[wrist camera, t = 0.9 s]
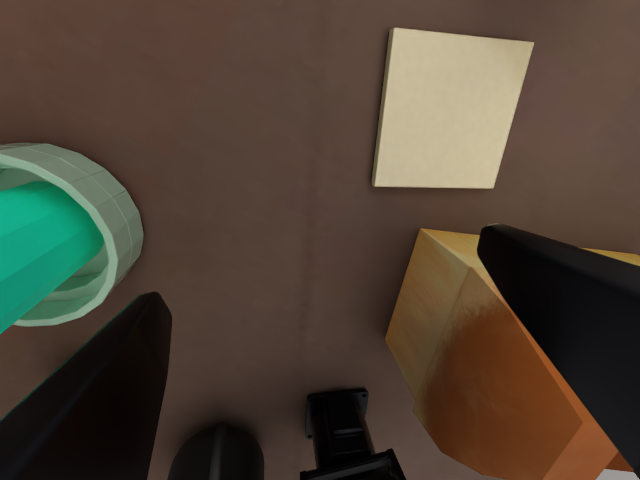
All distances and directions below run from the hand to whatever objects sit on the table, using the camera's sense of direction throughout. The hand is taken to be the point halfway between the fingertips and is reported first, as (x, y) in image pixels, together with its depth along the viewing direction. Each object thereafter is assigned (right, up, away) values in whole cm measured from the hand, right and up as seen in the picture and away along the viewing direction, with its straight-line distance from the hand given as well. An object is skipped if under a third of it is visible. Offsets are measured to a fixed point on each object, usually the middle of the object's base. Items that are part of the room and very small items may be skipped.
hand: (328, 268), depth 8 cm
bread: (+19, -5, +22) cm, 29 cm away
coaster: (+9, +10, +14) cm, 19 cm away
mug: (-11, -20, +23) cm, 33 cm away
